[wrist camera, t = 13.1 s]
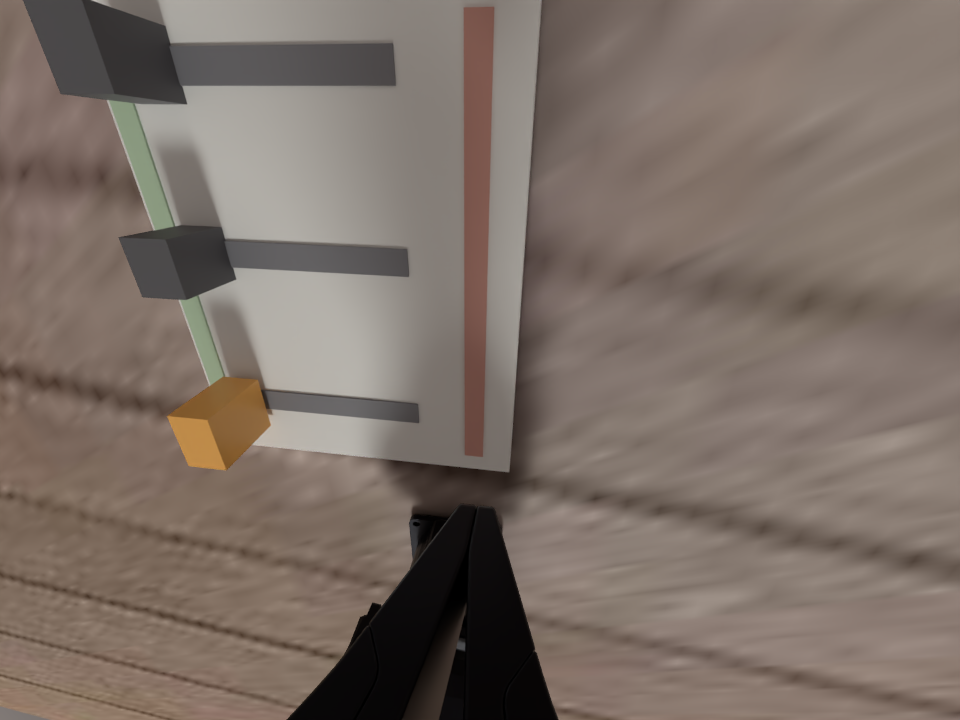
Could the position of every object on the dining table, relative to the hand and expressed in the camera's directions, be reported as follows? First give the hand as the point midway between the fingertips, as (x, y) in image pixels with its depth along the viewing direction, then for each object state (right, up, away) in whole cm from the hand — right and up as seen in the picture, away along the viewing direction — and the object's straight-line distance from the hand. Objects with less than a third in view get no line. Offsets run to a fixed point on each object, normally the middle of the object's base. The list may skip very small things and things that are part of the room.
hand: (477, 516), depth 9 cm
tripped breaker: (-13, +2, +12) cm, 18 cm away
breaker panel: (-6, +8, +10) cm, 15 cm away
